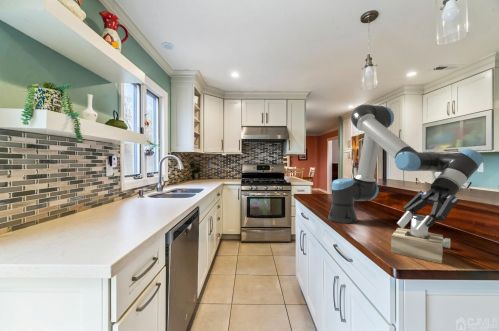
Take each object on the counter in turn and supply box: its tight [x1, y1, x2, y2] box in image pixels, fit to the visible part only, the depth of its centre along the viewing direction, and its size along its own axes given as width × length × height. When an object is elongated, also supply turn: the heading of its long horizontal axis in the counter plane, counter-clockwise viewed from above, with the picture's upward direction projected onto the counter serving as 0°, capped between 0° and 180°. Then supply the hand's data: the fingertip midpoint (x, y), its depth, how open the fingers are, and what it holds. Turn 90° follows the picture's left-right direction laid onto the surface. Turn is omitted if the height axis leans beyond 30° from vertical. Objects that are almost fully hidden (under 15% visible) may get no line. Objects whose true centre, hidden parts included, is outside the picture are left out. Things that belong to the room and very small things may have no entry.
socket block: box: [390, 227, 444, 264], centre depth 83 cm, size 14×14×6 cm
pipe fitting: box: [443, 237, 451, 250], centre depth 90 cm, size 8×4×7 cm
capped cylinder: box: [409, 213, 429, 239], centre depth 82 cm, size 5×5×12 cm
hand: (409, 228), depth 82 cm, fingers open, 7 cm apart
